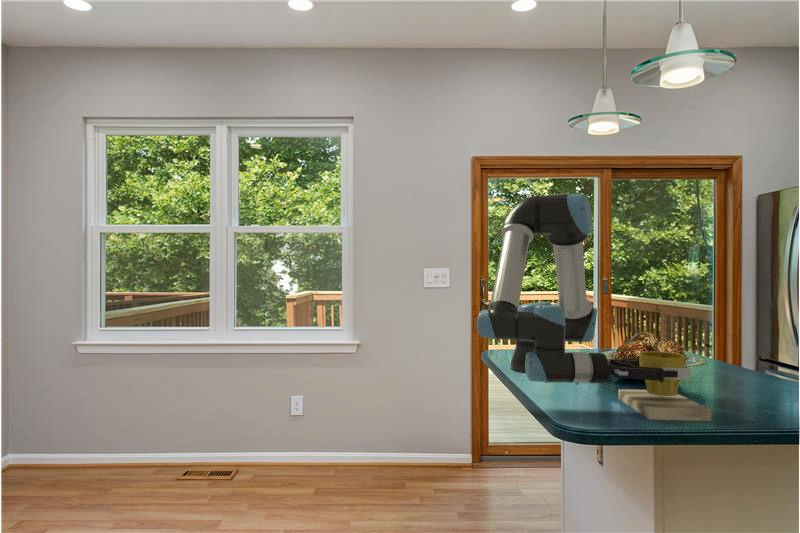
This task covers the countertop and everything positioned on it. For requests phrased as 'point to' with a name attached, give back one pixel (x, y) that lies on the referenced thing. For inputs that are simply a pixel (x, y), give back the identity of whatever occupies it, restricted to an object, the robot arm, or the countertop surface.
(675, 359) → the plant pot
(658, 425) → the countertop surface
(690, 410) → the birch stand
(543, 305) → the robot arm
